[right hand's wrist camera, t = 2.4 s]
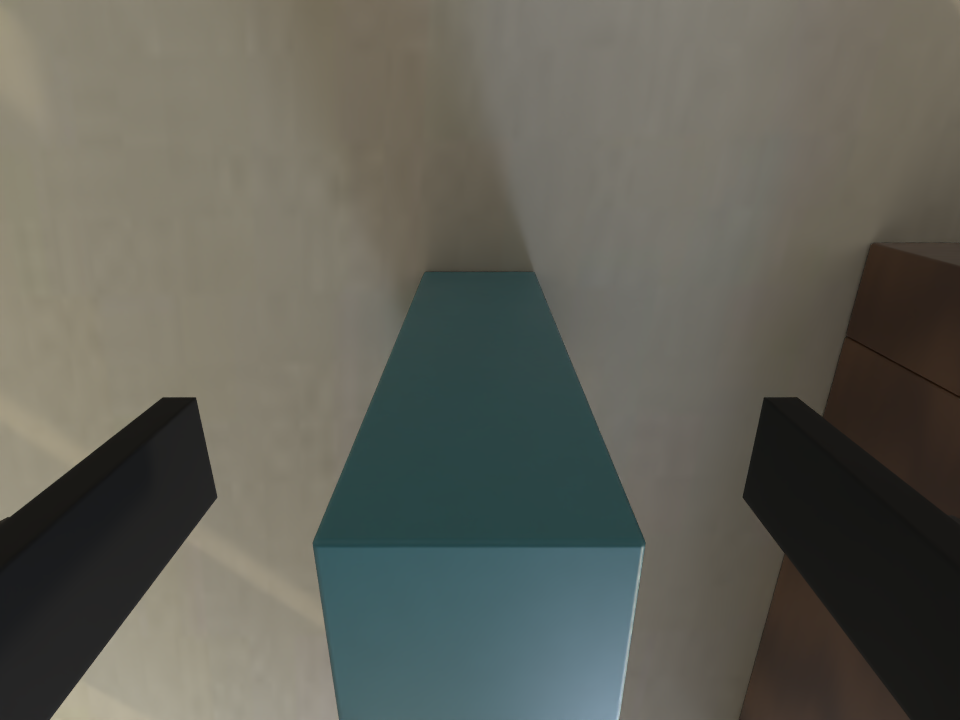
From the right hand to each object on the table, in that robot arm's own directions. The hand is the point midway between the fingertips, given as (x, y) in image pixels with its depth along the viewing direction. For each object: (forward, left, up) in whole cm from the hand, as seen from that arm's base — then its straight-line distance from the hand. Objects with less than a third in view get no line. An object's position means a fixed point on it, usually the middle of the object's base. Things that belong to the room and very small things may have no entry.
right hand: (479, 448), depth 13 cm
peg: (0, 0, -8) cm, 8 cm away
